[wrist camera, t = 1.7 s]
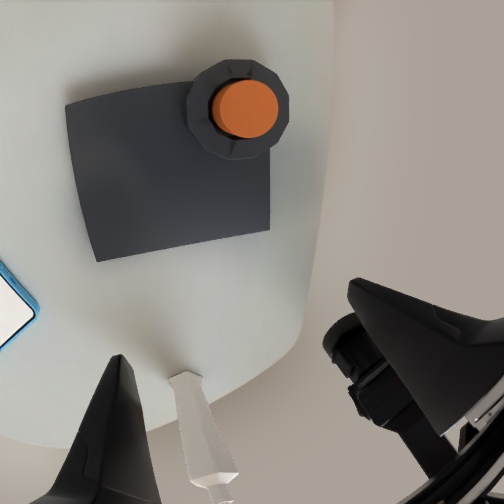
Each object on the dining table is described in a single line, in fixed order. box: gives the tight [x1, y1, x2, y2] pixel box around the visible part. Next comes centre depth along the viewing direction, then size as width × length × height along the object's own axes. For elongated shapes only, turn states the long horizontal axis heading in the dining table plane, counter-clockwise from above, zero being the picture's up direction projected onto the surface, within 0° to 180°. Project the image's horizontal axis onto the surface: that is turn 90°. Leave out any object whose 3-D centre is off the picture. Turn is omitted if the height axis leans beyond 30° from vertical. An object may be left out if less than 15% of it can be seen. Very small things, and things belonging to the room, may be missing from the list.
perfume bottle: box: [169, 371, 239, 504], centre depth 22 cm, size 5×4×15 cm
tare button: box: [212, 80, 278, 138], centre depth 14 cm, size 3×3×2 cm
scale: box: [65, 59, 289, 262], centre depth 16 cm, size 14×12×3 cm
